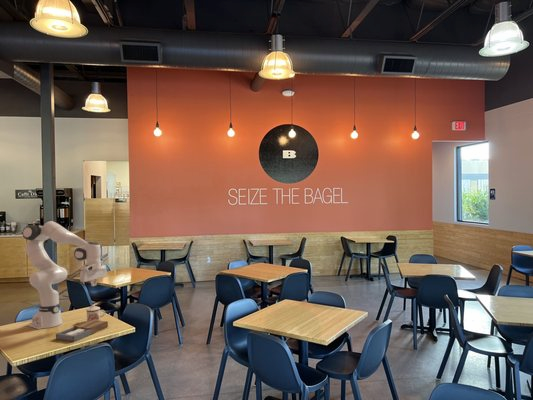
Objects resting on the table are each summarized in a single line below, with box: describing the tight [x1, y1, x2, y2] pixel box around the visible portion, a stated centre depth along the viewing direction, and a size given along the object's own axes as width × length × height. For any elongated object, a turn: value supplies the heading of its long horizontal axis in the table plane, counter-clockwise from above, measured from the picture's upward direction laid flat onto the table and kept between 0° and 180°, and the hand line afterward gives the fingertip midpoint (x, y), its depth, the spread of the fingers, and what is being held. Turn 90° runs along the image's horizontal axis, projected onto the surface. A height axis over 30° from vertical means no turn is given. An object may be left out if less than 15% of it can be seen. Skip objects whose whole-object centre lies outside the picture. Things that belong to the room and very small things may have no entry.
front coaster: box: [66, 331, 78, 336], centre depth 232 cm, size 5×5×2 cm
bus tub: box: [55, 326, 91, 343], centre depth 233 cm, size 15×13×4 cm
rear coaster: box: [73, 329, 85, 334], centre depth 237 cm, size 5×5×2 cm
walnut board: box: [73, 320, 109, 336], centre depth 246 cm, size 15×14×4 cm
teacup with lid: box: [86, 304, 106, 321], centre depth 264 cm, size 12×9×12 cm
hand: (93, 285), depth 255 cm, fingers closed
